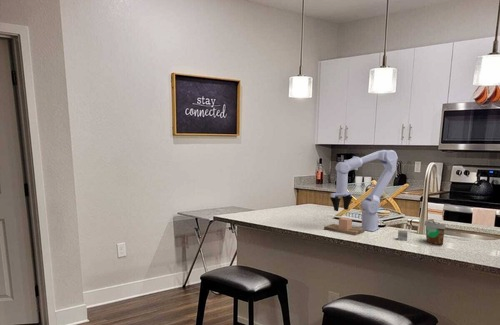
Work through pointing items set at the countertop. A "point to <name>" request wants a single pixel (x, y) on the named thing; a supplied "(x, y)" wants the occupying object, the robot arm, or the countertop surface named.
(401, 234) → the grey block
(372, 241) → the countertop surface
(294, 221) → the countertop surface
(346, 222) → the cube
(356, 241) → the countertop surface
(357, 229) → the board
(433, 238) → the food container
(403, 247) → the countertop surface
